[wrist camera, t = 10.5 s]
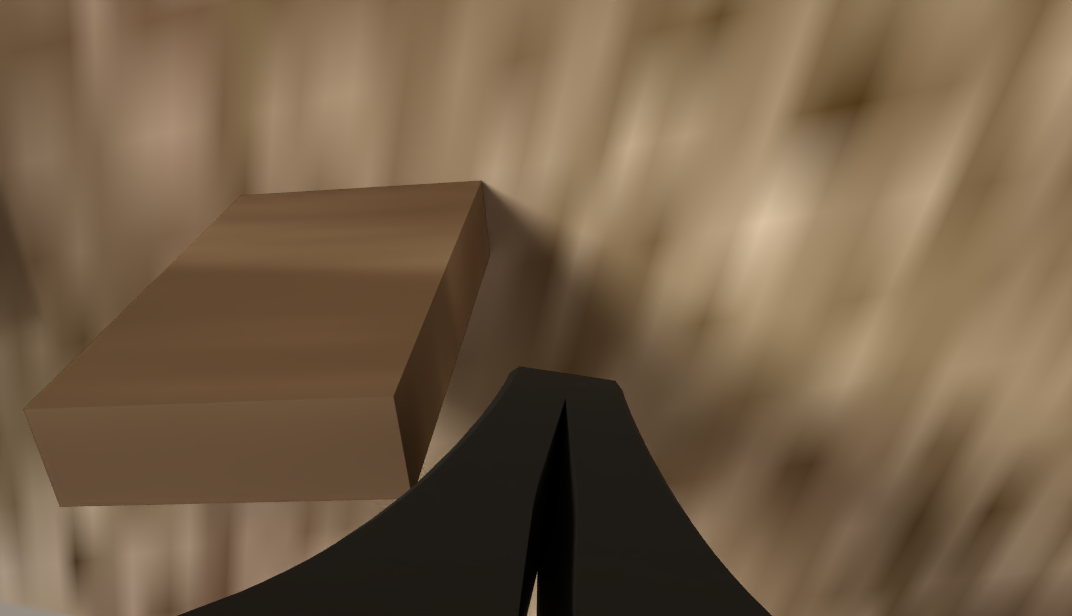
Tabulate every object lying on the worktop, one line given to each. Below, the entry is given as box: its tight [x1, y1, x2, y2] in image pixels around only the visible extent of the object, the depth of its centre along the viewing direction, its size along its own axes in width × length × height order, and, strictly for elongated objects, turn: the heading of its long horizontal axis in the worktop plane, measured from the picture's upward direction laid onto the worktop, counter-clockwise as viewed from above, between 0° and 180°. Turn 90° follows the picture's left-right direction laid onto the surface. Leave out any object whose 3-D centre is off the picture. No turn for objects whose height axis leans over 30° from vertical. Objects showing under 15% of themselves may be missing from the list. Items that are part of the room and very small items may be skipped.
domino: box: [23, 181, 490, 507], centre depth 15 cm, size 1×4×7 cm, turn 95°
